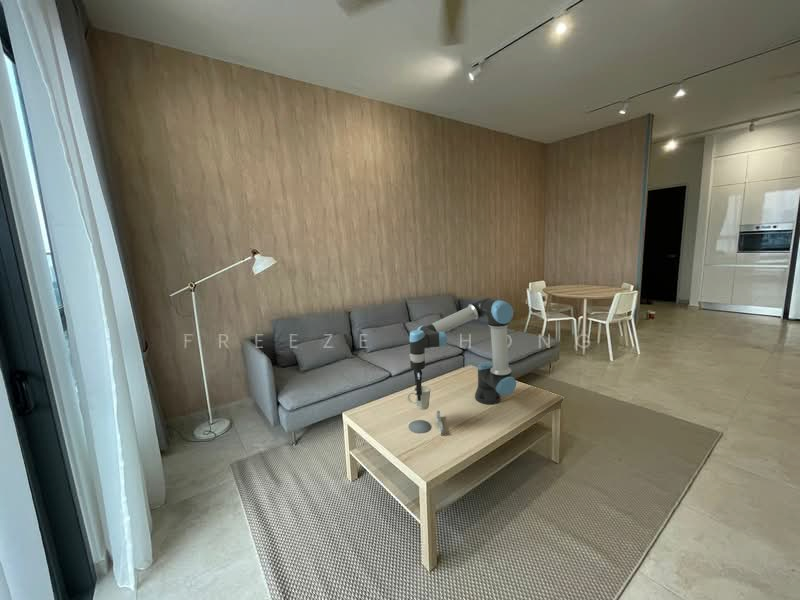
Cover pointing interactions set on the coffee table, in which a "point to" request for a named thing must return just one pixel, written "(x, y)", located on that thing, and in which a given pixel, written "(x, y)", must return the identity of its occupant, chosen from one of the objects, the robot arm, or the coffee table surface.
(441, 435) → the fence
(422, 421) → the coaster
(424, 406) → the mug
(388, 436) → the coffee table surface
